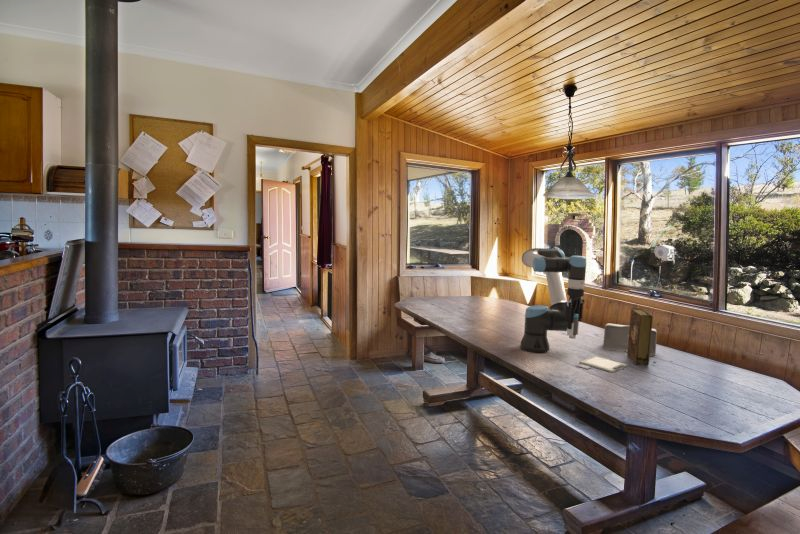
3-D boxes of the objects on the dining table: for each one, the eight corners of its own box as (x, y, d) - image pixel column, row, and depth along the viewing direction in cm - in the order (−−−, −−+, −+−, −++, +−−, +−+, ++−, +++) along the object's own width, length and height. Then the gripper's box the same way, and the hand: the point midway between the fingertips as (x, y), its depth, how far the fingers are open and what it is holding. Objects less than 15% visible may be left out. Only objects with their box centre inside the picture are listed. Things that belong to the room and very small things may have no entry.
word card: (575, 365, 215) (575, 365, 215) (579, 364, 218) (579, 363, 217) (587, 369, 210) (587, 368, 210) (591, 367, 213) (591, 366, 213)
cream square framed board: (579, 363, 219) (579, 360, 219) (595, 357, 229) (595, 354, 228) (612, 372, 207) (612, 369, 207) (627, 366, 216) (627, 363, 216)
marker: (566, 337, 221) (567, 313, 219) (570, 336, 224) (572, 312, 222) (573, 339, 218) (575, 315, 216) (578, 338, 220) (580, 314, 219)
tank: (654, 348, 247) (656, 326, 246) (655, 356, 233) (657, 332, 232) (605, 341, 259) (606, 320, 258) (602, 348, 245) (604, 326, 244)
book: (626, 355, 234) (630, 308, 231) (637, 356, 233) (641, 308, 230) (636, 365, 218) (640, 314, 215) (648, 366, 217) (653, 315, 214)
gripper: (573, 290, 209) (570, 339, 212) (592, 287, 220) (588, 333, 223) (559, 288, 215) (555, 335, 218) (577, 285, 226) (574, 330, 229)
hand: (572, 334), depth 221 cm, fingers closed on marker, 4 cm apart
